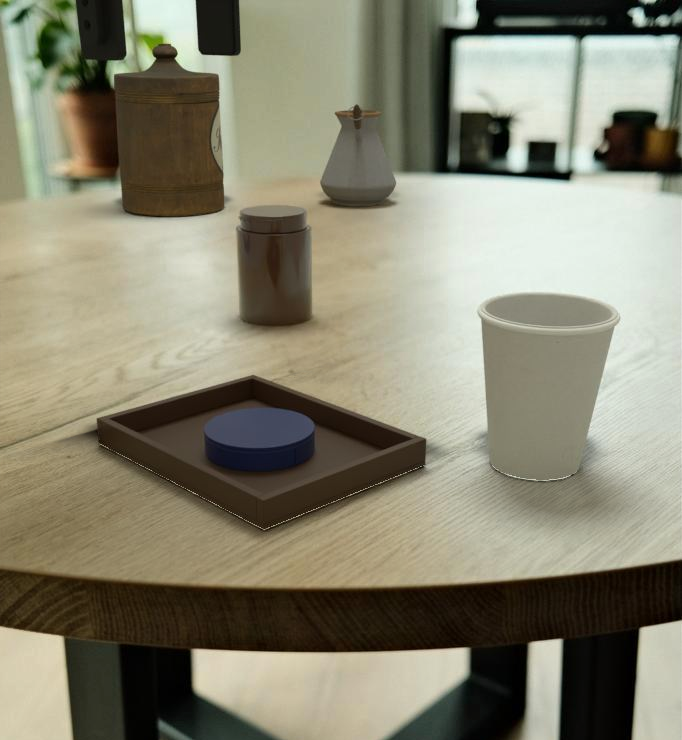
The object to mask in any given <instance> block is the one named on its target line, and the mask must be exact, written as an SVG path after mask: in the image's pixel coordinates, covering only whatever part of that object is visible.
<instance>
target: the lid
mask: <svg viewBox="0 0 682 740" xmlns="http://www.w3.org/2000/svg"><path fill="white" fill-rule="evenodd" d="M204 439H205V453H206V456H207V458H208V459H209V460H210V461H212V462H213V463H215V464H217V465H219V466H222V467H225V468H228V469H233V470H239V471H250V472H263V471H274V470H281V469H286V468H290V467H293V466H296V465H299V464H301V463H303V462H305V461H307V460H308V459H309V458H310V457H311V456H312V455H313V454H314V451H315V425H314V423H313V421H312V420H311V419H310V418H308V417H307V416H305V415H303V414H300V413H298V412H294V411H290V410H285V409H278V408H248V409H240V410H235V411H230V412H227V413H224V414H221V415H218V416H216V417H214V418H212V419H211V420H209V421H208V422H207V423H206V425H205V427H204Z"/></svg>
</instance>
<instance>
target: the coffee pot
mask: <svg viewBox="0 0 682 740" xmlns="http://www.w3.org/2000/svg"><path fill="white" fill-rule="evenodd" d="M334 115H335V116H336V118H337V120H338V121H339V124H340V126H341V127H340V130H339V132H338V134H337V137H336V139H335V143H334V145H333V147H332V149H331V153H330V155H329V158H328V161H327V163H326V165H325V168H324V171H323V173H322V175H321V178H320V181H319V183H320V187H321V189H322V192H323V193H324V194H325V196H326V197H327V198H329V199H331V200H332V203H333V204H335V205H339V206H345V207H346V206H347V207H367V206H366V205H372V206H377V205H376V204H378V205H382V204H384V200H385V199H387V198H389V197H390V196H391V195H392V193H393V192H394V190H395V188H396V186H397V180H396V177H395V175H394V172H393V170H392V166H391V164H390V161H389V159H388V156H387V153H386V150H385V148H384V145H383V142H382V140H381V137H380V134H379V132H378V129H377V123H378V118H379V116H381V115H382V113H381V111H378V110H367V109H364V108H363V107H361V106H360V105H359V104H358V103H356V104H354V105H353V106H351V107H350V108H348V109H347V110H338V111H335V112H334ZM381 203H382V204H381Z"/></svg>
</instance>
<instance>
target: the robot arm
mask: <svg viewBox="0 0 682 740" xmlns="http://www.w3.org/2000/svg"><path fill="white" fill-rule="evenodd" d="M123 4H124V3H123V0H75V7H76V18H77V27H78V35H79V45H80V53H81V56H82V58H83V59H84V60H87V61H114V62H117V61H118V62H119V61H120V62H121V61H124V60H125V58H126V57H127V54H128V52H127V51H128V50H127V40H126V28H125V14H124V5H123ZM195 15H196V16H195V17H196V32H197V33H196V34H197V35H196V36H197V50H198V52H199V54H201V55H202V56H217V57H219V56H221V57H222V56H223V57H238V56H239V55H240V54H241V51H242V42H241V41H242V39H241V17H240V15H241V14H240V0H195Z"/></svg>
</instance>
